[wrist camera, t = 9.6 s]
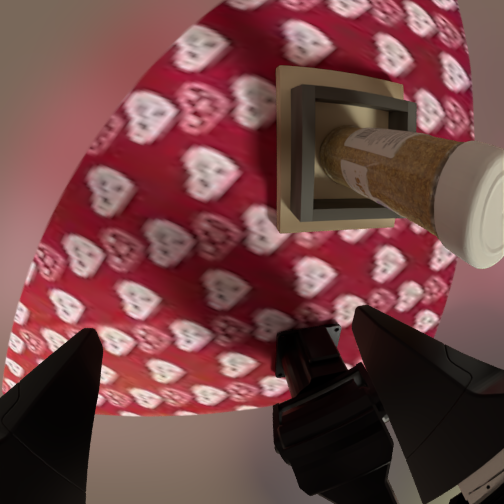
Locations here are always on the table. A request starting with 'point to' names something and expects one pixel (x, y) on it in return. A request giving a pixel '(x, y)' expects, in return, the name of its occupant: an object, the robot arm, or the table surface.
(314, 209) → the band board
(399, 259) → the table surface
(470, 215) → the sprinkles bottle
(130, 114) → the table surface
